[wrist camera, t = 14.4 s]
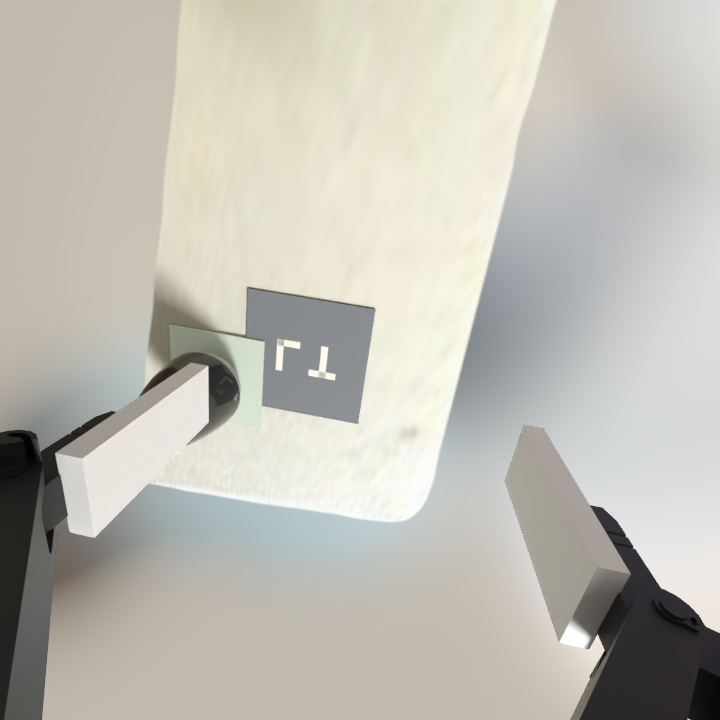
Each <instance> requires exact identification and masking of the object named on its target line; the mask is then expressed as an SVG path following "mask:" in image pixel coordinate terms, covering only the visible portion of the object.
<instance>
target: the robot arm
mask: <svg viewBox="0 0 720 720" xmlns="http://www.w3.org/2000/svg"><path fill="white" fill-rule="evenodd" d="M208 422H209V385H208V366H206V365H201V364H196V363H190V364H188V365H187V366H185V367H184V368H182V369H181V370H179V371H178V372H176V373H175V374H173V375H172V376H170V377H169V378H167V379H166V380H164V381H163V382H161V383H160V384H158V385H157V386H155V387H154V388H152V389H151V390H149V391H148V392H146V393H145V394H143V395H142V396H140V397H139V398H137V399H136V400H134V401H133V402H131V403H130V404H128V405H127V406H125V407H124V408H122V409H121V410H119V411H118V412H113V411H111V412H108V413H105V414H102V415H100V416H97V417H94V418H93V419H91V420H90V421H88V422H87V423H85V424H84V425H82V427H79V428H77V429H76V430H74V431H72V432H71V434H68V435H66V436H65V437H63V438H61V439H60V440H58V441H57V442H55V443H53V444H52V445H51V446H49V447H47V448H46V449H44V450H43V451H41V452H40V449H39V444H38V439H37V436H36V434H35V433H33V432H31V431H25V430H15V431H14V430H13V431H6V432H1V433H0V720H42V711H43V700H44V687H45V676H46V663H47V652H48V651H47V650H48V639H49V627H50V615H51V603H52V590H53V578H54V567H55V554H56V542H57V541H56V540H57V533H56V528H55V526H56V525H58V524H59V523H60V522H61V521H62V520H63V519H64V518H66V517H67V520H68V525H69V531H70V532H72V533H76V534H80V535H85V536H89V537H93V538H94V537H96V536H97V535H98V534H99V533H100V532H101V531H102V529H103V528H105V527H106V526H107V525H108V524H109V523H110V521H111V520H112V519H113V518H114V517H115V516H116V515H117V514H118V513H119V512H120V511H121V510H122V509H123V508H124V507H125V506H126V505H127V504H128V503H129V502H130V501H131V500H132V499H133V498H134V497H135V496H136V495H137V494H138V493H139V492H140V491H141V490H142V489H143V488H144V487H145V486H146V485H147V484H148V483H149V482H150V481H151V480H152V479H153V478H154V477H155V476H156V475H157V474H158V473H159V472H160V471H161V470H162V469H163V468H164V467H165V466H166V465H167V464H168V463H169V462H170V461H171V460H172V459H173V458H174V457H175V456H176V455H177V454H178V453H179V452H180V451H181V450H182V449H183V448H184V447H185V446H186V445H187V444H188V443H189V442H190V441H191V440H192V439H193V438H194V437H195V436H196V435H197V434H198V433H199V432H200V431H201V430H202V429H203V427H204V426H205V425H206V424H207V423H208ZM505 483H506V486H507V489H508V492H509V495H510V498H511V501H512V504H513V507H514V510H515V513H516V515H517V519H518V522H519V524H520V528H521V531H522V534H523V537H524V540H525V542H526V546H527V549H528V552H529V554H530V557H531V560H532V563H533V566H534V569H535V572H536V575H537V578H538V581H539V584H540V587H541V590H542V593H543V596H544V599H545V602H546V605H547V608H548V611H549V614H550V617H551V620H552V623H553V626H554V629H555V632H556V635H557V638H558V641H559V643H563V644H568V645H572V646H577V647H581V648H585V649H589V648H590V647H591V644H592V643H593V641H594V639H595V637H596V636H597V634H598V636H599V638H600V640H601V642H602V645H603V647H604V649H605V651H604V653H603V654H602V656H601V658H600V660H599V661H598V663H597V665H596V667H595V668H594V670H593V672H592V673H591V675H590V680H589V682H588V684H587V687H586V689H585V691H584V693H583V695H582V697H581V699H580V701H579V703H578V705H577V707H576V709H575V711H574V713H573V715H572V717H571V719H570V720H687V718H688V719H690V720H720V633H718V632H715V631H714V630H711V629H709V628H707V627H705V625H704V624H703V622H702V620H701V618H700V617H699V615H698V614H697V613H696V612H695V611H694V610H693V609H692V608H691V607H690V606H689V605H688V604H686V603H685V602H684V601H683V600H681V599H680V598H679V597H677V596H676V595H674V594H672V593H670V592H668V591H666V590H664V589H661V588H660V586H659V585H658V583H657V582H656V580H655V579H654V577H653V576H652V574H651V573H650V571H649V569H648V568H647V566H646V565H645V563H644V562H643V560H642V559H641V557H640V556H639V554H638V553H637V551H636V550H635V549H633V545H632V544H631V542H630V541H629V539H628V538H627V537H626V534H625V533H624V531H623V530H622V528H621V527H620V525H619V524H618V522H617V521H616V520H615V519H614V518H613V517H612V516H611V515H609V514H608V513H607V512H606V511H605V510H604V509H603V508H601V507H596V506H591V505H589V503H588V502H587V500H586V498H585V497H584V495H583V493H582V492H581V490H580V488H579V487H578V485H577V483H576V482H575V480H574V478H573V477H572V475H571V473H570V472H569V470H568V469H567V467H566V465H565V464H564V462H563V460H562V459H561V457H560V455H559V453H558V452H557V450H556V448H555V447H554V445H553V444H552V442H551V440H550V438H549V437H548V435H547V433H546V432H545V430H544V429H543V428H539V427H534V426H528V425H524V426H523V429H522V432H521V434H520V437H519V440H518V443H517V446H516V449H515V452H514V455H513V458H512V461H511V463H510V467H509V470H508V472H507V475H506V478H505Z"/></svg>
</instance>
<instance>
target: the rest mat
mask: <svg viewBox="0 0 720 720" xmlns="http://www.w3.org/2000/svg"><path fill="white" fill-rule="evenodd" d="M169 340H170V359H171V360H172V359H174V358H176V357H177V356H179V355H181V354H184V353H189V352H199V353H201V352H202V353H210V354H214V355H217V356H219V357H221V358H223V359H224V360H226V361H227V362H228V363H229V364H230V365H231V366H232V367H233V368H234V370H235V371H236V373H237V375H238V377H239V380H240V386H241V393H240V402H239V406H238V409H237V411H236V412H235V414H234V415H233V416H232V417H231V418H230V419H229V420H228V421H227V422H231V423H236V424H241V425H247V426H252V427H257V428H261V424H262V391H263V369H264V347H265V341H260V340H255V339H249V338H246V337H241V336H235V335H229V334H224V333H218V332H212V331H207V330H201V329H195V328H189V327H184V326H178V325H172V324H170V325H169Z"/></svg>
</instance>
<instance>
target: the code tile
mask: <svg viewBox="0 0 720 720" xmlns="http://www.w3.org/2000/svg"><path fill="white" fill-rule="evenodd" d="M374 315H375V309H371V308H365V307H359V306H353V305H347V304H341V303H335V302H329V301H323V300H317V299H311V298H305V297H299V296H293V295H287V294H280V293H274V292H268V291H262V290H256V289H250V288H248V289H247V327H246V338H249V339H255V340H260V341H265V347H264V369H263V391H262V406H266V407H271V408H277V409H282V410H287V411H292V412H298V413H303V414H308V415H314V416H319V417H324V418H330V419H335V420H340V421H346V422H351V423H356V424H358V419H359V413H360V406H361V400H362V393H363V386H364V380H365V373H366V367H367V360H368V354H369V347H370V341H371V334H372V328H373V321H374Z"/></svg>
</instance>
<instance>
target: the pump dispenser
mask: <svg viewBox="0 0 720 720" xmlns="http://www.w3.org/2000/svg"><path fill="white" fill-rule="evenodd" d="M190 363H196V364H201V365H206V366H208V385H209V422H208V423H207V424H206V425H205V426H204V427H203V429H202V430H201V431H200V432H199V433H198V434H197V435H196V436H195V437H194V438H193V439H192V440H191V441H190V442H189V443H188V444H187V445H189V444H192V443H194V442H196V441H198V440H200V439H202V438H204V437H206V436H207V435H209V434H211V433H212V432H214V431H215V430H217V429H218V428H220V427H221V426H222V425H224V424H225V423H226V422H227V421H228V420H229V419H230V418H231V417H232V416H233V415H234V414H235V412H236V411H237V409H238V406H239V402H240V393H241V386H240V380H239V377H238V375H237V373H236V371H235V370H234V368H233V367H232V366H231V365H230V364H229V363H228V362H227V361H226V360H224V359H223V358H221V357H219V356H217V355H214V354H210V353H202V352H201V353H199V352H189V353H184V354H181V355H179V356H177V357H176V358H174V359H172V360H171V361H170V362H168V363H167V364H166V365H165V366H164V367H163V368H162V369H161V370H160V371H159V372H158V373H157V374H156V375H155V376H154V377H153V378H152V379H151V380H150V381H149V383H148V384H147V385H146V387H145V388H144V390H143V391H142V393H141V394H140V396H142V395H143V394H145V393H146V392H148V391H149V390H151V389H152V388H154V387H155V386H157V385H158V384H160V383H161V382H163V381H164V380H166V379H167V378H169V377H170V376H172V375H173V374H175V373H176V372H178V371H179V370H181V369H182V368H184V367H185V366H187V365H188V364H190ZM140 396H139V397H140ZM139 397H138V398H139ZM187 445H186V446H187Z"/></svg>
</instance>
